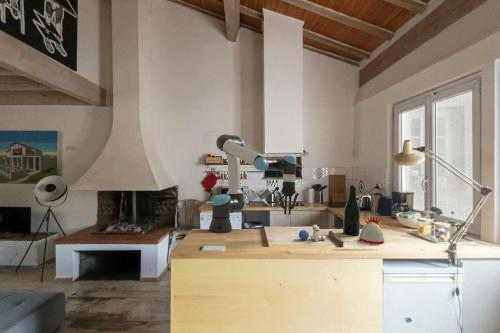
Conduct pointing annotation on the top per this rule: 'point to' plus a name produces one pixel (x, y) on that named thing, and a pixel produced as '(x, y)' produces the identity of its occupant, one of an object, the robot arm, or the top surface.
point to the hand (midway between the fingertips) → (286, 219)
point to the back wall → (336, 238)
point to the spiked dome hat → (372, 232)
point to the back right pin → (316, 234)
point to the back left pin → (314, 229)
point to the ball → (303, 235)
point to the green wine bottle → (351, 214)
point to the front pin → (319, 237)
